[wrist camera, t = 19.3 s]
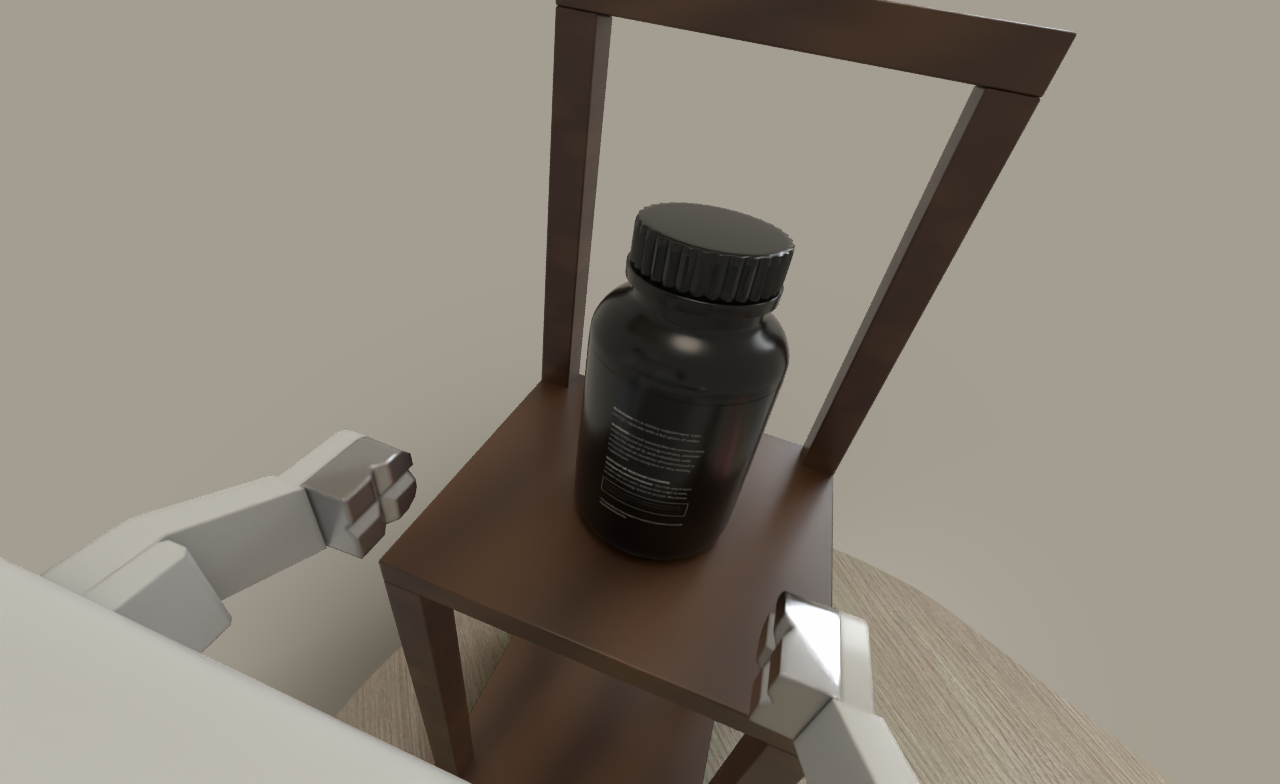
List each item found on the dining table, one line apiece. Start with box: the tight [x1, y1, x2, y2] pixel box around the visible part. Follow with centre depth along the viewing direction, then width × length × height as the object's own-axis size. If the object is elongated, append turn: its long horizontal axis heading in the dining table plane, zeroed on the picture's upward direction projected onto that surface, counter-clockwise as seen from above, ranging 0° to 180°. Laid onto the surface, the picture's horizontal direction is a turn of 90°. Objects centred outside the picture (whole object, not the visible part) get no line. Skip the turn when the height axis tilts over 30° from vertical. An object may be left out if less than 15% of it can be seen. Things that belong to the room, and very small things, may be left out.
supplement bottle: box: [575, 202, 795, 560], centre depth 18 cm, size 7×7×12 cm
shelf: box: [379, 0, 1077, 784], centre depth 24 cm, size 16×14×44 cm
